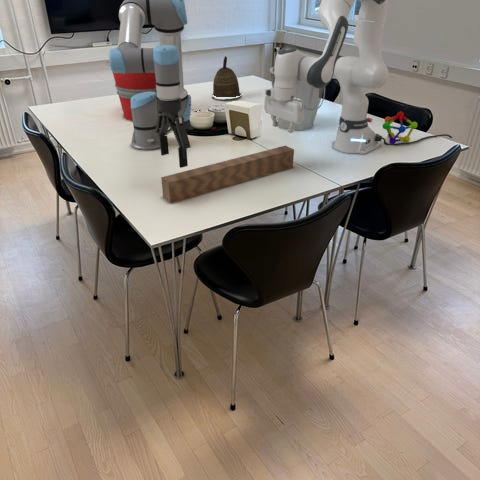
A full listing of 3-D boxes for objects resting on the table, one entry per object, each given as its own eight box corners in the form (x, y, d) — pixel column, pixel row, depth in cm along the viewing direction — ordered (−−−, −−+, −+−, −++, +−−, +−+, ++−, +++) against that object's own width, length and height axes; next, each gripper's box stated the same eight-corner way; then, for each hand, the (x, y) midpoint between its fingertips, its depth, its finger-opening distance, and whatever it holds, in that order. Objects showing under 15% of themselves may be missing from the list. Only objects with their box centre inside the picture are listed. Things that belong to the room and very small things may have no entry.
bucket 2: (296, 138, 215) (301, 78, 201) (255, 124, 234) (256, 68, 219) (335, 125, 232) (342, 70, 217) (294, 113, 251) (297, 61, 236)
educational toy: (377, 146, 209) (379, 114, 202) (384, 138, 219) (386, 107, 211) (411, 149, 202) (415, 116, 195) (417, 141, 212) (420, 109, 204)
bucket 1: (123, 106, 262) (116, 51, 247) (182, 106, 262) (178, 52, 246) (106, 123, 233) (97, 63, 217) (172, 124, 232) (168, 64, 216)
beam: (170, 203, 157) (168, 182, 152) (163, 197, 160) (161, 177, 156) (292, 167, 185) (294, 149, 181) (284, 163, 189) (285, 145, 184)
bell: (227, 105, 294) (202, 96, 282) (238, 66, 289) (213, 55, 277) (243, 108, 280) (217, 98, 268) (255, 66, 275) (229, 55, 263)
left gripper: (199, 104, 135) (201, 169, 146) (162, 88, 152) (167, 147, 164) (177, 108, 131) (182, 174, 143) (142, 91, 149) (148, 151, 160)
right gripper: (309, 98, 163) (306, 134, 170) (274, 87, 177) (273, 121, 184) (296, 100, 160) (293, 137, 167) (262, 89, 174) (261, 124, 181)
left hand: (174, 160), depth 153 cm, fingers open, 13 cm apart
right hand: (282, 129), depth 176 cm, fingers open, 8 cm apart
